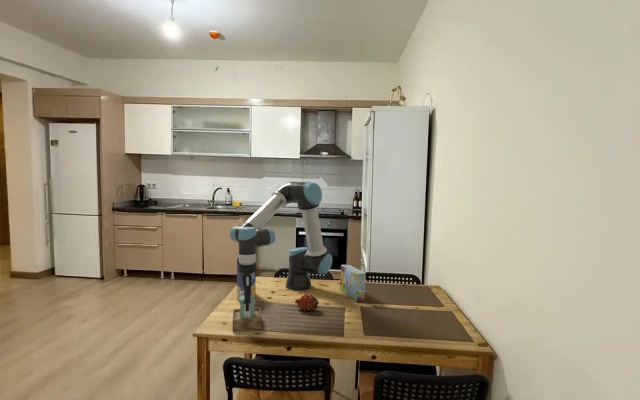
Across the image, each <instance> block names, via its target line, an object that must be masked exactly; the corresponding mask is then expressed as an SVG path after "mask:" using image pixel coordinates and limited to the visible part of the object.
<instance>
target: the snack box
mask: <svg viewBox="0 0 640 400" xmlns="http://www.w3.org/2000/svg"><path fill="white" fill-rule="evenodd" d="M366 277H367V274H366V272H364V271H362V270H360V269H358V268H356V267H354V266H352V265H351V264H341V265H340V285H339V286H340V287H339V288H340V289H339V290H340V291H341V292H343V293H344V294H345V295H347V296H348V297H350V298H351V299H353V300H354V301H355V302H364V301H366V299H365V296H366V280H367V279H366Z"/></svg>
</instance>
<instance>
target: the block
mask: <svg viewBox="0 0 640 400" xmlns="http://www.w3.org/2000/svg"><path fill="white" fill-rule="evenodd" d="M250 301H251V303H250V318H254V308H255V295H250ZM239 302H240V304H239V309H240V319H242V318H244V304H243V302H244V296H240V300H239Z"/></svg>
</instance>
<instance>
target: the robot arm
mask: <svg viewBox="0 0 640 400" xmlns="http://www.w3.org/2000/svg"><path fill="white" fill-rule="evenodd" d="M322 197H323V190H322V188H321V186H320V185H319V184H317V182H312V181H289V182H286V183H285V184H283V185H281V186H280V187H278V188H276V190H274V191H273V192H272V193H271V197H270V198H269V199H268V200H266V202H264V204H262V205H261V206H260V208H258V209H257V210H256V211H255V212H254V213H253V214H251V216H249V218H247V219H246V220H245V221H244V222H243V223H242V224H241V225H235V226H233V227H232V228H230V232H229V237H230V239H231V241H233V242H235V243H238V255H237V256H236V257H237V258H239V266H238V271H239V272H240V273H244V275H243V287H244V302H243V304H244V318H250V303H251V301H250V287H251V281H252V275H250V273H254V272H255V271H257V248H260V247H266V246H269V245H272V244H274V242H275V240H276V233H275V231H274V230H273V229H272V228H264V229H262V227H263V226H264V225H265V224H266V223H267V222H269V220H270V219H271V218H272V217H273V216H274V215H276V213H277V212H278V211H279V210H280V209H281V208H285V207H286V206H288V204H297V207H298V210H299V211H301V215H302V221H303V226H304V227H303V228H304V232H305V233H304V234H305V237H306V243H307V244H306V245H307V247H303V246H302V247H294V248H291V249H290V250H289V252H288V253H289V254H288V275H287V279H286V282H285V287H286V288H287V289H289V290H292V291H306V290H308V289H310V288H311V287H312V281H311V277H310V273H309V272H311V273H315V274H319V275H321V274H323V275H326V274H327V273H329V272H330V269H331V268H332V265H333V256H332V255H331V254H330V253H328V251H327V250H328V249H327V247H326V246H324V243H323V235H322V231H321V230H322V229H321V223H320V218H319V212H318V208H319V207H320V204H321V202H322V200H323V198H322ZM255 262H256V263H255Z"/></svg>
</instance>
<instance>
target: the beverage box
mask: <svg viewBox="0 0 640 400" xmlns="http://www.w3.org/2000/svg"><path fill="white" fill-rule="evenodd" d="M255 263H256V264H257V261H256V262H255ZM238 266H239V258H237V259H236V300H237V301H240V296H244V287H243V275H244V273H240V272H239V271H238ZM256 271H257V270H256ZM256 271H255V272H254V273H250V275H252V281H251V287H250V295H254V296H255V295H256V293H257V292H256V290H257V287H256V283H257V280H256V276H257V275H256V273H257V272H256Z"/></svg>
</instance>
